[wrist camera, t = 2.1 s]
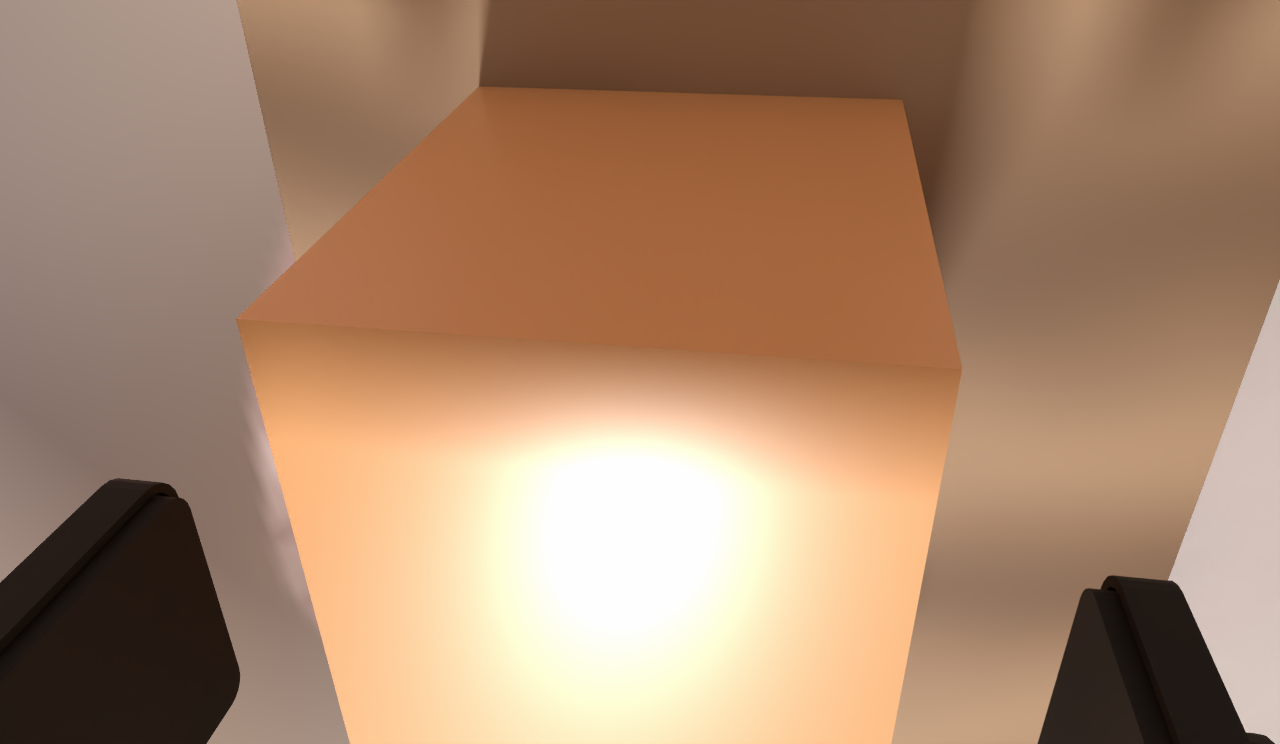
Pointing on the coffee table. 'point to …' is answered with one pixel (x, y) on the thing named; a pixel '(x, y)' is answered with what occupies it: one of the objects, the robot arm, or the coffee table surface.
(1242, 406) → the coffee table surface
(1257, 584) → the coffee table surface
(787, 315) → the orange wooden cube
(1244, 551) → the coffee table surface
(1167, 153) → the tan wooden board
